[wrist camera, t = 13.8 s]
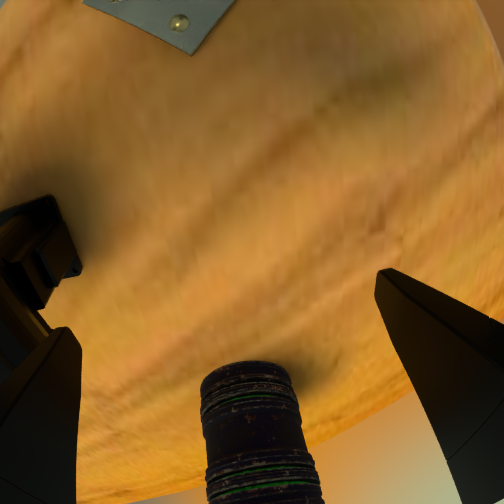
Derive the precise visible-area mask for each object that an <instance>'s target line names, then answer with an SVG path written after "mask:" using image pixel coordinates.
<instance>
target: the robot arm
mask: <svg viewBox="0 0 504 504" xmlns="http://www.w3.org/2000/svg"><path fill="white" fill-rule="evenodd" d="M46 200H48V201H49V202H50V205H49V204H47V202H46ZM76 252H77V251H76V248H75V246H74V244H73V241H72V239H71V236H70V234H69V232H68V229H67V226H66V224H65V222H64V221H63V220H62V217H61V215H60V212H59V209H58V206H57V204H56V201H55V199H54V197H53V196H52V195H45V196H42V197H39V198H36V199H33V200H30V201H27V202H25V203H22V204H19V205H17V206H14V207H11V208H9V209H6V210H3V211H1V212H0V504H76V457H77V436H78V422H79V411H80V400H81V372H82V348H81V345H80V343H79V342H78V340H77V339H76V337H75V336H74V334H73V333H72V331H71V330H70V328H68V327H58V328H55V329H51V328H50V327H49V325H48V324H47V323H46V322H45V320H44V319H43V318H42V316H41V315H40V314H39V312H38V310H41V309H44V308H45V306H46V304H47V302H48V300H49V298H50V296H51V294H52V292H53V290H54V289H55V288H56V287H58V286H59V284H60V282H61V280H62V279H65V278H70V277H75V276H79V275H80V274H81V272H82V269H83V268H82V265H81V263H80V261H79V258H78V256H77V254H76ZM74 268H77V269H78V270H75V269H74ZM374 296H375V301H376V303H377V306H378V308H379V311H380V313H381V316H382V318H383V321H384V323H385V326H386V329H387V331H388V334H389V337H390V339H391V341H392V344H393V346H394V348H395V350H396V352H397V354H398V356H399V358H400V360H401V362H402V364H403V366H404V368H405V370H406V372H407V374H408V376H409V378H410V380H411V382H412V384H413V387H414V389H415V391H416V393H417V395H418V397H419V399H420V401H421V403H422V406H423V408H424V410H425V412H426V415H427V417H428V419H429V421H430V423H431V426H432V428H433V430H434V433H435V435H436V437H437V440H438V442H439V444H440V447H441V449H442V452H443V454H444V457H445V459H446V460H447V464H448V467H449V469H450V472H451V474H452V477H453V480H454V482H455V485H456V488H457V491H458V493H459V496H460V499H461V501H462V504H494V503H496V502H498V501H500V500H502V499H504V324H502V323H500V322H498V321H496V320H495V319H493V318H489V316H487V315H485V314H483V313H481V312H479V311H477V310H476V309H474V308H472V307H470V306H468V305H466V304H464V303H462V302H460V301H458V300H456V299H454V298H452V297H450V296H448V295H446V294H444V293H442V292H440V291H438V290H436V289H434V288H432V287H430V286H428V285H426V284H424V283H422V282H420V281H418V280H416V279H414V278H412V277H410V276H408V275H406V274H404V273H401V272H399V271H397V270H395V269H393V268H387V269H382V270H379V271H378V273H377V277H376V285H375V292H374Z"/></svg>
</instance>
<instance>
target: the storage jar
mask: <svg viewBox="0 0 504 504" xmlns="http://www.w3.org/2000/svg"><path fill="white" fill-rule="evenodd" d="M291 384H292V383H291V379H290V376H289V374H288V372H287V371H286V370H285V369H283V368H282V367H280V366H278V365H276V364H273V363H269V362H264V361H243V362H237V363H232V364H229V365H226V366H223V367H221V368H218V369H216V370H215V371H213V372H211V373H210V374H209V375H208V376H207V377H206V378H205V379H204V380H203V382H202V384H201V387H200V392H201V398H202V399H201V408H200V414H201V422H202V429H203V436H204V438H205V440H206V451H207V463H208V468H207V469H206V476H205V480H206V482H207V488H206V493H207V501H208V502H209V504H325V502H324V500H323V499H322V497H321V496H322V491H321V487H320V486H319V485H320V480H319V476H318V472H317V471H316V470H315V466H314V465H315V461H314V460H313V458H312V455H311V454H310V453H308V451H307V446H306V443H305V439H304V435H303V432H302V428H301V424H302V419H301V415H300V411H299V404H298V400H297V397H296V395H295V393H294V390H293V388H292V386H291Z"/></svg>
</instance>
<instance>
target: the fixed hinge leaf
mask: <svg viewBox="0 0 504 504" xmlns="http://www.w3.org/2000/svg"><path fill="white" fill-rule="evenodd" d="M235 1H236V0H84V1H83V2H82V3H83V4H85V5H87V6H89V7H92V8H94V9H97V10H99V11H101V12H104V13H106V14H108V15H111V16H113V17H115V18H117V19H120V20H122V21H124V22H126V23H128V24H130V25H133V26H135V27H137V28H139V29H141V30H143V31H145V32H147V33H149V34H151V35H153V36H155V37H157V38H159V39H161V40H163V41H165V42H166V43H168V44H170V45H172V46H174V47H176V48H178V49H179V50H181V51H183V52H185V53H187V54H188V55H190V56H192V55H193V54H194V53H195V51H196V50H197V49H198V47H199V46H200V45H201V43H202V42H203V41H204V39H205V38H206V37H207V35H208V34H209V33H210V32H211V30H212V29H213V28H214V27H215V25H216V24H217V23H218V22H219V20H220V19H221V18H222V17H223V15H224V14H225V13H226V12H227V11H228V9H229V8H230V7H231V6H232V5H233V4H234V2H235Z"/></svg>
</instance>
